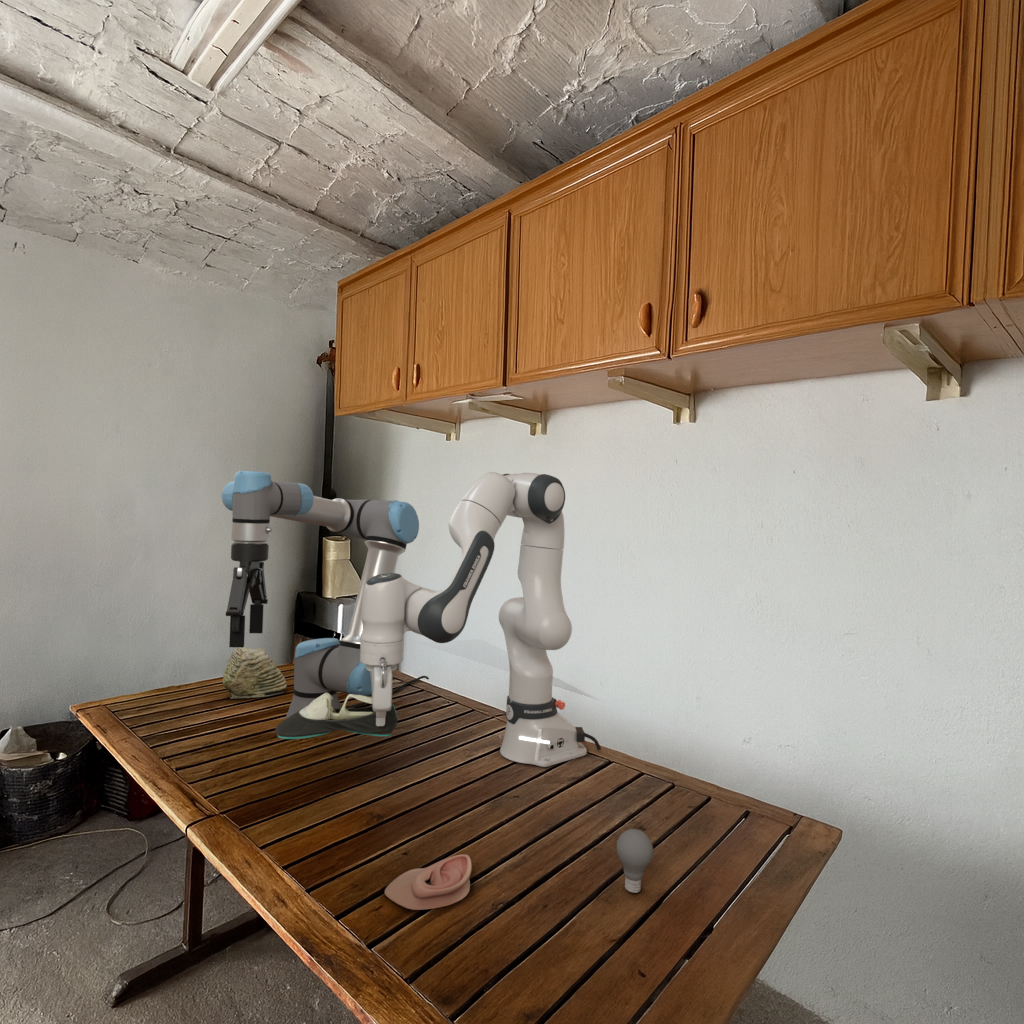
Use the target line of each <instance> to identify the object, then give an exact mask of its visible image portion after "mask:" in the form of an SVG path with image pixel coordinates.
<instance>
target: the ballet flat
mask: <svg viewBox="0 0 1024 1024" xmlns="http://www.w3.org/2000/svg"><path fill="white" fill-rule="evenodd" d="M350 698H353V699H355V700H358V701H360V702H365V703H367V704H369V705H370V706H366V707H352V708H346V706H347V702H348V700H349V699H350ZM332 699H333V697H332V696H331V695H330V694H329V693H324V694H323V695H321V696H320V697H318V698H316V699H315V700H313V701H312V702H311V703H310V704H309V705H308V706H306V707H305V708H302V709H300V710H299V711H298V712H296V713H294V714H293V715H291V716H290V717H288V718H287V719H286V718H285V719H283V721H281V722H280V723H279V724H278V725H277V726H276V727H275V730H274V731H275V733H276V735H277V738H279V739H282V740H300V739H309V738H315V737H320V736H324V735H327V734H330V733H332V732H333V731H344V732H348V733H355V734H359V735H366V736H371V737H372V736H373V737H383V738H384V737H385V738H386V737H391V736H392V734H393V733H394V730H395V729H396V727H397V725H398V720H399V719H398V713H397V710H396V707H395V704H394V703H393V701H392V707H391V710H390V711H386V717H385V725H384V726H377V725H376V712H374V711H373V707H372V697H370V696H362V695H353V694H347V696H346V697H345V700H344V702H343V703H342V705H341V706H342V708H341V709H333V707H332V706H331V702H332Z"/></svg>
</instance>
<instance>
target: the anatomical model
mask: <svg viewBox="0 0 1024 1024" xmlns="http://www.w3.org/2000/svg"><path fill="white" fill-rule="evenodd" d="M472 867H473V864H472V859H471V857H470V856H469V855H468V854H466V853H465V854H464V853H463V854H455V855H453V856H450V857H449V856H448V857H447V858H444V859H441V860H439V861H437V862H435V863H432V864H431V865H429V866H427V867H424V868H423V867H422V868H420V867H419V868H412V869H409V870H407V871H405V872H403V873H402V874H400V875H398V876H397V877H395V878H394V879H393V880H392V881H391V882H389V884H388V885H387V886H386V888H385V889H384V895H385V896H386V898H388V899H389V900H391V901H392V902H394V903H395V904H397V905H399V906H401V907H403V908H405V909H408V910H410V911H421V910H422V911H424V910H432V909H438V908H443V907H448V906H450V905H454V904H455V903H459V901H462V900H463V899H464V898H465V897H467V896H468V894H469V893H470V890H471V881H470V877H471V875H472V869H473V868H472Z"/></svg>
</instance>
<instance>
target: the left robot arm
mask: <svg viewBox="0 0 1024 1024" xmlns="http://www.w3.org/2000/svg"><path fill="white" fill-rule="evenodd" d="M221 501H222V504H223V506H224V507H225V508H226V510H229V511H231V512H232V520H231V537H230V538H231V541H233V542H232V544H231V546H230V559H231V560H232V561H234V562H239V565H238V567H236V566H234V567H233V571H232V572H233V573H232V582H231V587H230V592H229V597H228V603H227V608H226V611H225V617H230V620H229V644H228V645H229V647H228V648H238V647H240V648H243V647H245V636H246V635H245V634H246V633H245V631H246V615H244V614H245V610H246V606H247V602H248V598H249V596H250V600H251V604H250V605H249V609H250V610H249V628H248V629H249V630H248V631H249V632H248V633H249V634H263V629H264V605H267V604H268V602H269V599H267V598H268V597H267V595H268V594H267V587H266V586H267V585H266V579H265V562H266V561H268V560H269V549H270V547H269V546H270V545H269V543H266V542H268V541H269V540H270V533H271V532H272V530H273V529H272V527H270V522H271V521H270V520H271V518H276V519H283V520H288V521H293V522H301V523H305V524H309V525H310V524H311V525H316V526H323V527H326V528H327V529H328V530H329V531H331V532H334V533H339V534H342V535H347V536H351V537H355V538H358V539H361V540H364V544H365V546H366V547H367V554H366V558H365V563H364V567H363V570H362V574H361V577H360V581H359V582H360V583H359V587H358V591H357V595H356V600H355V603H354V608H353V612H352V616H351V620H350V624H349V629H348V633H347V634H346V635H345V636H344V637H343V638H341V639H340V640H339V639H338V638H335V637H324V638H323V637H322V638H313V639H308V640H304V641H302V642H299V643H298V644H297V645H296V647H295V652H294V653H295V654H294V657H293V659H294V660H293V662H294V663H293V665H294V666H293V695H292V696H293V697H292V699H291V702H290V704H289V708H288V711H287V713H286V715H285V719H287V718H288V717H290V716H291V715H293V714H294V713H296V712H298V711H299V710H300V709H302V708H305V707H306V706H308V705H309V704H310V703H311V702H312V701H313V700H315V699H316V698H318V697H320V696H321V695H323V694H324V693H329V694H330V695H331V696H332V697H333V699H332V702H331V706H332V707H333V709H341V708H342V706H343V705H341V702H340V699H339V695H338V692H339V693H343V694H347V695H349V694H353V695H362V696H366V697H370V696H372V690H371V678H370V671H368V670H366V664H363V663H361V662H360V642H361V634H362V631H363V623H362V619H361V610H362V598H363V591H364V587H365V584H366V582H367V581H368V580H369V579H370V578H371V577H373V576H376V575H379V574H387V573H396V569H397V566H398V565H397V564H398V561H399V557H400V555H402V554H404V553H405V552H406V549H407V546H408V544H411V543H413V542H414V541H415V540H416V539H417V537H418V536H419V535H418V534H419V531H420V520H419V516H418V514H417V511H416V509H415V507H414V506H413V505H411V503H409V502H406V501H401V500H396V499H395V500H381V499H345V498H338V497H337V498H336V497H335V498H334V499H328V498H324V497H321V496H316V495H314V493H313V490H312V489H311V488H310V487H309V485H307V484H305V483H299V482H286V481H285V482H283V481H273V480H272V475H271V473H270V472H265V471H253V470H252V471H251V470H239V471H237V472H236V473H235V474H234V478H233V481H232V480H231V481H229V482H228V483H226V484H225V486H224V487H223V489H222V492H221ZM422 679H426V680H430V678H429V677H428V676H427V675H421V676H419V677H416V678H414V679H412V680H409V681H407V682H405V683H403V684H401V685H399V686H398V687H396V688H394V689H392V694H394V693H395V692H397V691H398V690H401V689H402V688H404V687H406V686H408V685H410V684H412V683H415V682H418V681H419V680H422ZM366 704H368V703H365V702H362V701H360V702H358V703H355V704H348V705H345V706H346V709H353V708H357V707H359V706H363V705H366Z"/></svg>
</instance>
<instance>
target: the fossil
mask: <svg viewBox="0 0 1024 1024" xmlns="http://www.w3.org/2000/svg"><path fill="white" fill-rule="evenodd" d="M222 676H223V677H222V685H223V687H224V688H225V690H226V691H228V693H229V698H230V699H250V698H264V697H271V696H275V695H281V694H284V693H285V691H286V689H287V687H288V686H287V680H286V678H285V676H284V674H283V673H282V672H281V669H279V668H278V667H277V665H276V663H275V662H274V660H273V659H272V658H271V657H270V656H269V655H268V654H267V653H266V652H265V650H264V649H263V648H260V647H258V648H251V647H247V646H246V647H245V646H244V647H243V648H240V647H236V649H235V650H233V651H232V653H231V656H230V657H229V659H228V660H227V663H226V666H225V668H224V671H223V675H222Z"/></svg>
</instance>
